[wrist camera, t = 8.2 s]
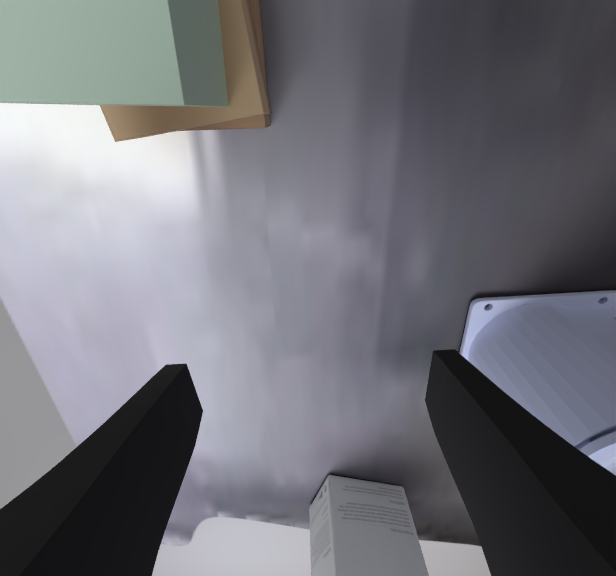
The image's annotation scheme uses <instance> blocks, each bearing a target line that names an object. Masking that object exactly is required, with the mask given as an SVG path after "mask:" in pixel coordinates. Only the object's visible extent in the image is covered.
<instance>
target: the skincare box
mask: <svg viewBox="0 0 616 576" xmlns="http://www.w3.org/2000/svg"><path fill="white" fill-rule="evenodd" d="M309 514H310V546H311V576H429V575H428V572H427V568H426V565H425V561H424V558H423V554H422V551H421V547H420V544H419V540H418V537H417V533H416V529H415V526H414V522H413V519H412V515H411V512H410V508H409V505H408V501H407V498H406V494H405V491H404V487H403V486H397V485H390V484H384V483H378V482H371V481H365V480H359V479H352V478H346V477H340V476H334V475H329V476H328V477H327V479H326V480H325V482H324V484H323V485H322V487H321V489H320V490H319V492H318V494H317V496H316V497H315V499H314V501H313V503H312V504H311V506H310V508H309Z"/></svg>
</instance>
